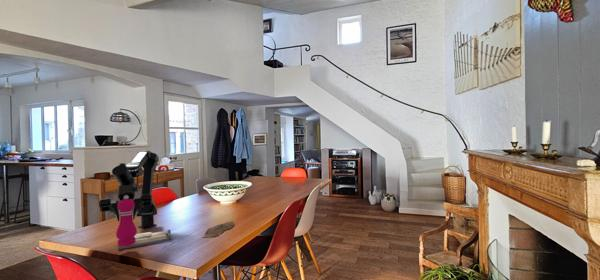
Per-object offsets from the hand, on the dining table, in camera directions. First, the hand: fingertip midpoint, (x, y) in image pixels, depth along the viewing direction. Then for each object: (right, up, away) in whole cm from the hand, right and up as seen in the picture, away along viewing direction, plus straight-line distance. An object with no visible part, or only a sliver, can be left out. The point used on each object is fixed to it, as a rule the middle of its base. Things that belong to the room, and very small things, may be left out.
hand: (126, 220), depth 109 cm
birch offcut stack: (+1, -12, +12) cm, 17 cm away
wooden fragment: (+31, -13, +27) cm, 43 cm away
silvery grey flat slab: (+1, -13, +12) cm, 18 cm away
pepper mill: (-1, -10, +1) cm, 10 cm away
